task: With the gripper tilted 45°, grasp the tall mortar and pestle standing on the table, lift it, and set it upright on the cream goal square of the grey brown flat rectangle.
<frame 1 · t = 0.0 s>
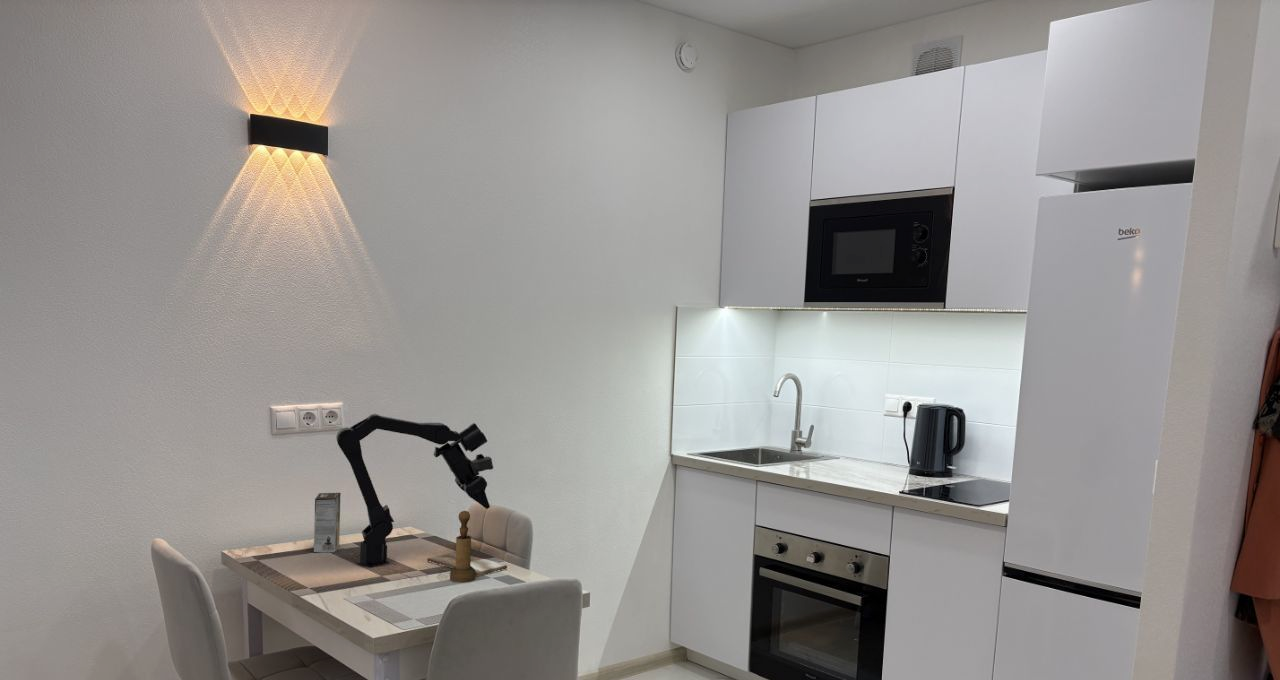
hand: (485, 505, 251), 15 cm above the table, tool tilted 35°, fingers open, 9 cm apart
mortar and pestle: (462, 579, 226), on the table
grey brown flat rectangle: (466, 565, 240), on the table
coffee box: (326, 549, 255), on the table
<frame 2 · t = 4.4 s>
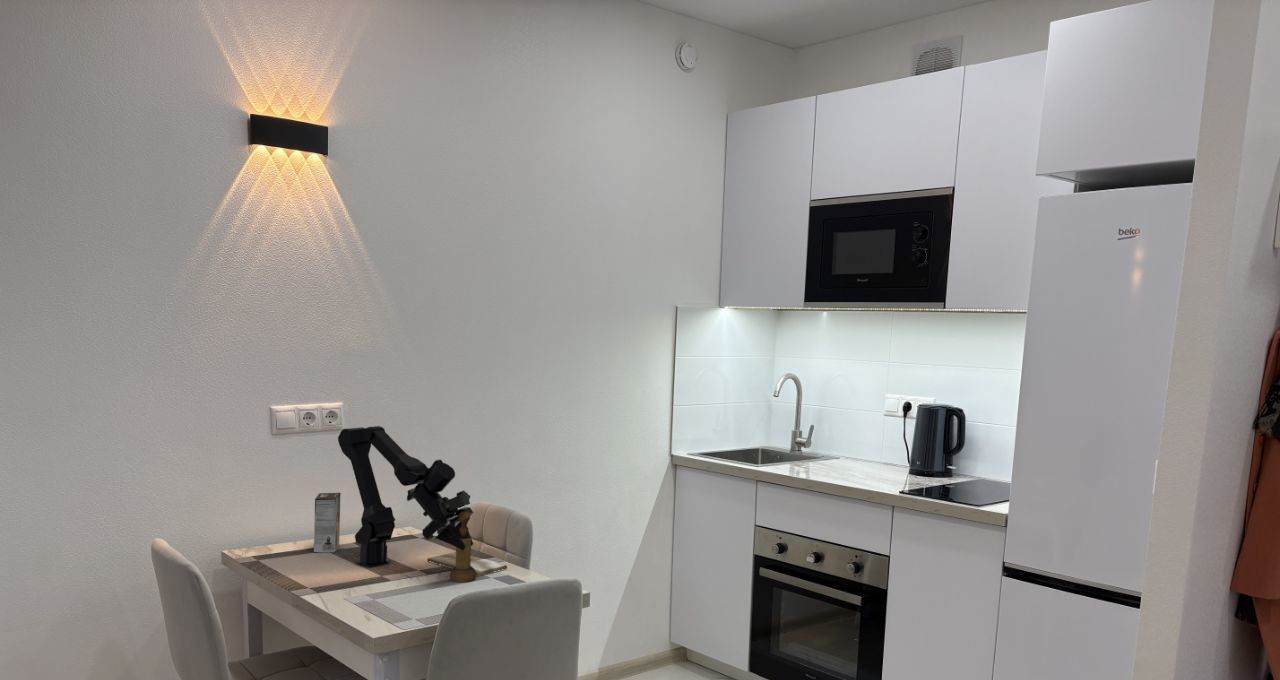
hand: (468, 547, 226), 9 cm above the table, tool tilted 45°, fingers closed on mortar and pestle, 4 cm apart
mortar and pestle: (462, 579, 226), on the table, touching gripper
everything else where it was.
when the fingers open (11 cm above the table, at t = 7.7 s): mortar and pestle stays where it is, resting on grey brown flat rectangle.
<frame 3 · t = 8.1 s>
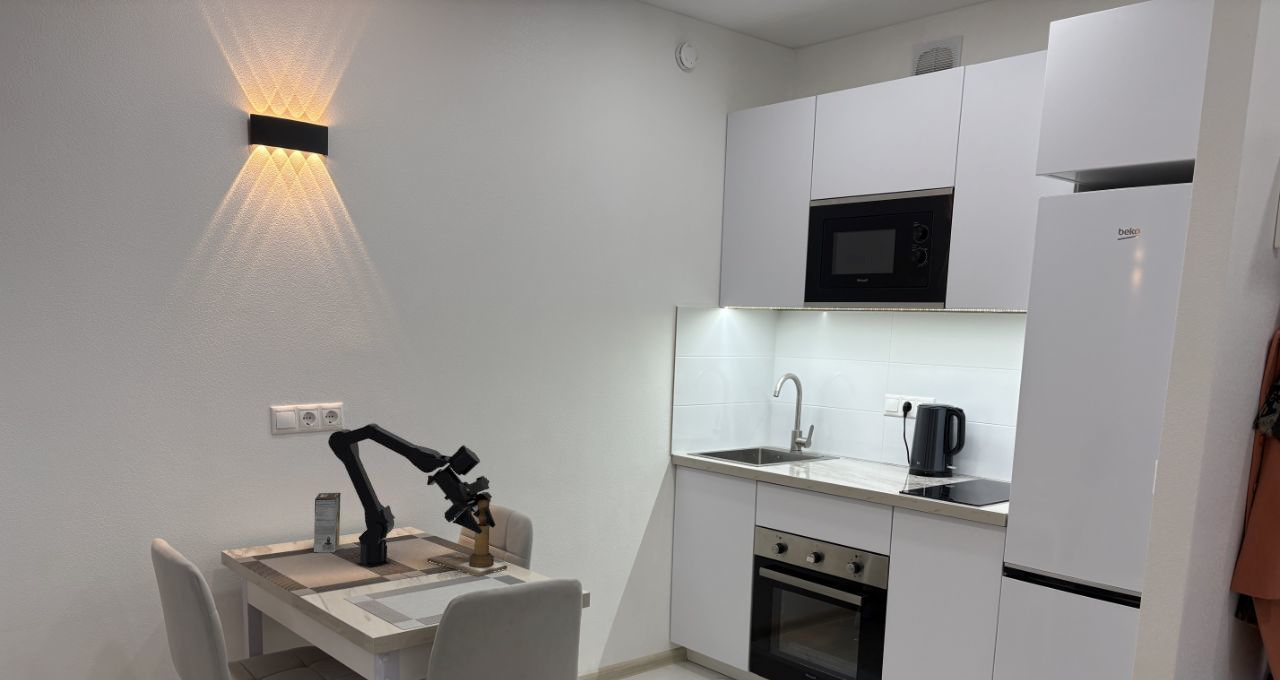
hand: (487, 529, 236), 11 cm above the table, tool tilted 45°, fingers open, 8 cm apart
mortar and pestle: (481, 565, 236), point 1 cm above the table, touching grey brown flat rectangle
everything else where it was.
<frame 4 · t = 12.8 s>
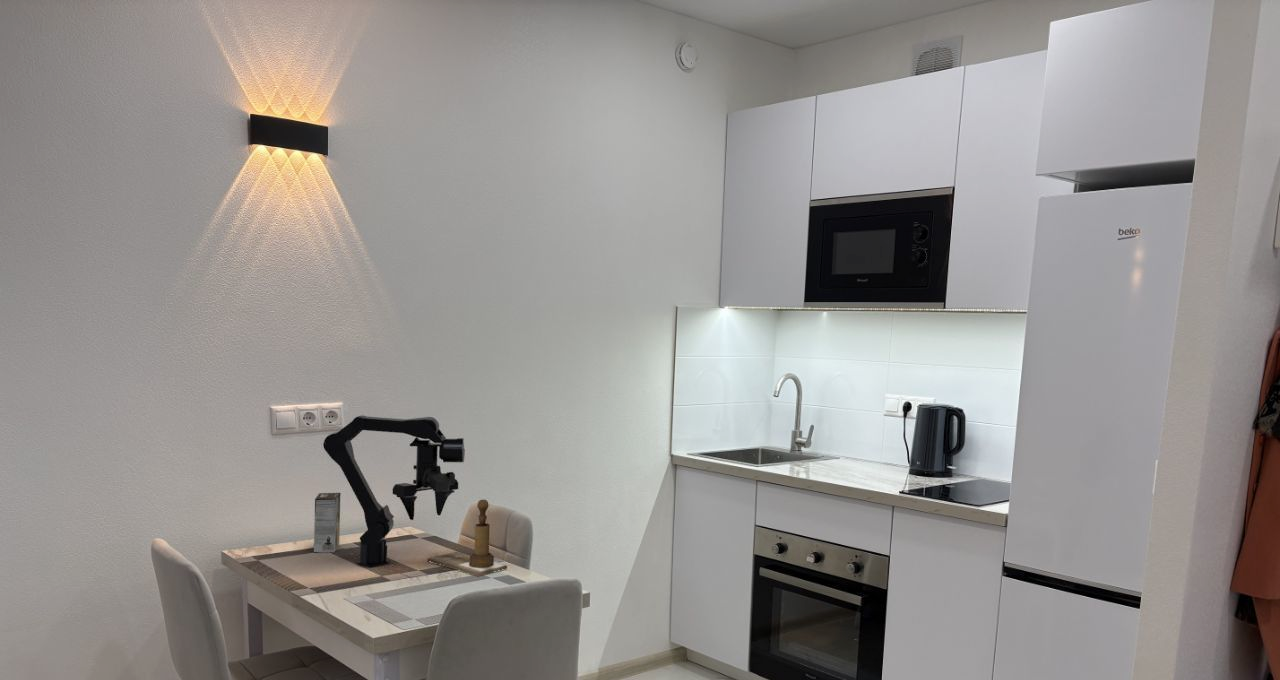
hand: (425, 517, 241), 13 cm above the table, tool pointing down, fingers open, 9 cm apart
nothing on the table moved.
at the end: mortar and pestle 0.2 cm from the target spot, point 1.0 cm above the table; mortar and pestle tilted 0°; the gripper is holding nothing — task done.
